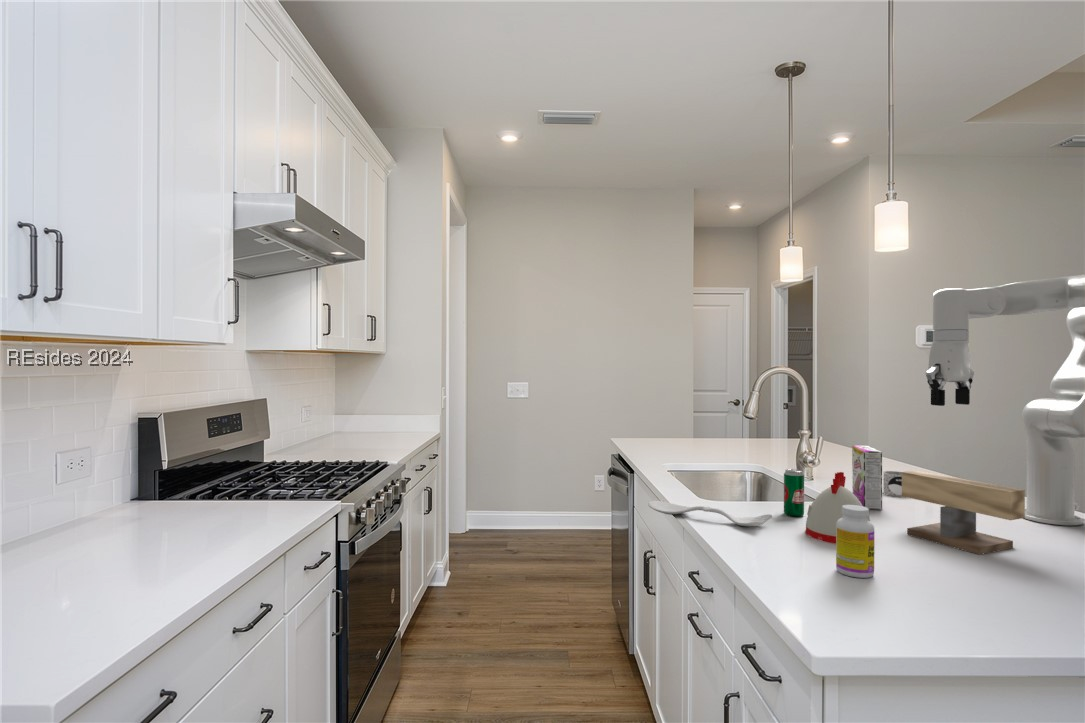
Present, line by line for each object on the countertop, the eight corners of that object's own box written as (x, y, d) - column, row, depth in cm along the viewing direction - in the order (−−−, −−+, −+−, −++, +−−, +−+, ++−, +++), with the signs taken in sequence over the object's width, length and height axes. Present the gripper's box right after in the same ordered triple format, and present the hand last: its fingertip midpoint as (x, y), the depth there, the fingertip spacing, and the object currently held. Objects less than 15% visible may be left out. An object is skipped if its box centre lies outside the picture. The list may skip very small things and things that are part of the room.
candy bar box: (851, 500, 176) (851, 445, 176) (869, 500, 175) (869, 445, 175) (863, 509, 165) (863, 450, 165) (883, 510, 164) (883, 451, 164)
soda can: (795, 518, 156) (795, 472, 156) (779, 514, 160) (779, 469, 160) (808, 516, 158) (808, 471, 158) (792, 511, 163) (792, 468, 163)
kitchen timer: (878, 535, 141) (878, 472, 141) (861, 549, 131) (862, 481, 131) (817, 524, 151) (817, 465, 151) (797, 536, 140) (797, 472, 140)
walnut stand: (939, 528, 146) (940, 496, 146) (1012, 547, 132) (1013, 511, 132) (907, 534, 142) (907, 501, 142) (979, 554, 127) (979, 517, 127)
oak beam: (915, 494, 149) (915, 470, 149) (1024, 517, 127) (1024, 489, 127) (901, 496, 147) (901, 471, 147) (1010, 520, 125) (1010, 491, 125)
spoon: (761, 535, 142) (761, 520, 142) (642, 513, 162) (642, 500, 162) (772, 526, 149) (773, 513, 149) (657, 506, 169) (657, 494, 169)
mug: (888, 496, 181) (888, 474, 181) (879, 491, 188) (879, 470, 188) (924, 497, 180) (924, 475, 180) (914, 492, 186) (914, 471, 186)
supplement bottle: (873, 581, 112) (873, 513, 112) (834, 574, 115) (834, 508, 115) (875, 571, 117) (875, 506, 117) (838, 564, 121) (838, 501, 121)
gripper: (956, 338, 158) (956, 402, 158) (913, 337, 151) (913, 404, 151) (987, 337, 151) (987, 404, 151) (943, 336, 144) (943, 407, 144)
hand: (950, 404), depth 151 cm, fingers open, 9 cm apart
